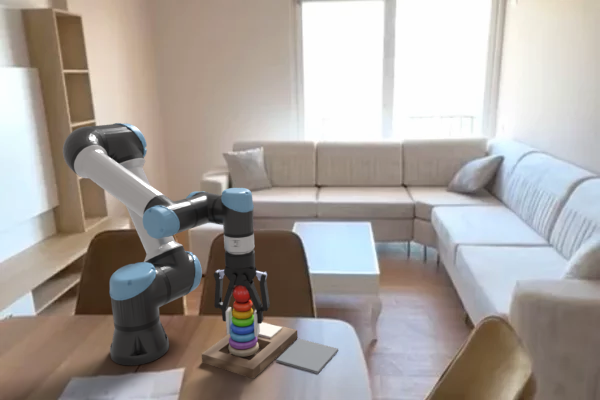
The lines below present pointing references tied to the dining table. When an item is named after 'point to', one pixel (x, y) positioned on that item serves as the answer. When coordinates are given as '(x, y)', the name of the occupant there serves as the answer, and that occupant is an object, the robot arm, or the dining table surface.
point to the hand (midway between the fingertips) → (243, 332)
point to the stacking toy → (242, 325)
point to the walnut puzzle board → (273, 344)
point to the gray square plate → (307, 355)
